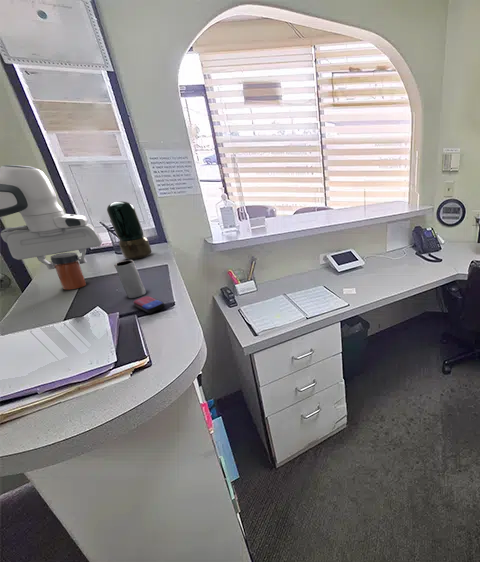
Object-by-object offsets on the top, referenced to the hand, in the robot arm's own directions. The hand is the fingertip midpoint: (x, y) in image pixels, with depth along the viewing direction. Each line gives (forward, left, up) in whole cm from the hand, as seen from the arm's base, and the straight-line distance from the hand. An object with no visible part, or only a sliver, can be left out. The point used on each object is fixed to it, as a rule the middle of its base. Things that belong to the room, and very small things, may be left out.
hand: (68, 265), depth 98 cm
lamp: (+17, +22, -7) cm, 29 cm away
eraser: (+18, -34, -7) cm, 39 cm away
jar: (-1, 0, -7) cm, 7 cm away
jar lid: (0, 0, +3) cm, 3 cm away
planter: (+15, -22, -7) cm, 28 cm away
